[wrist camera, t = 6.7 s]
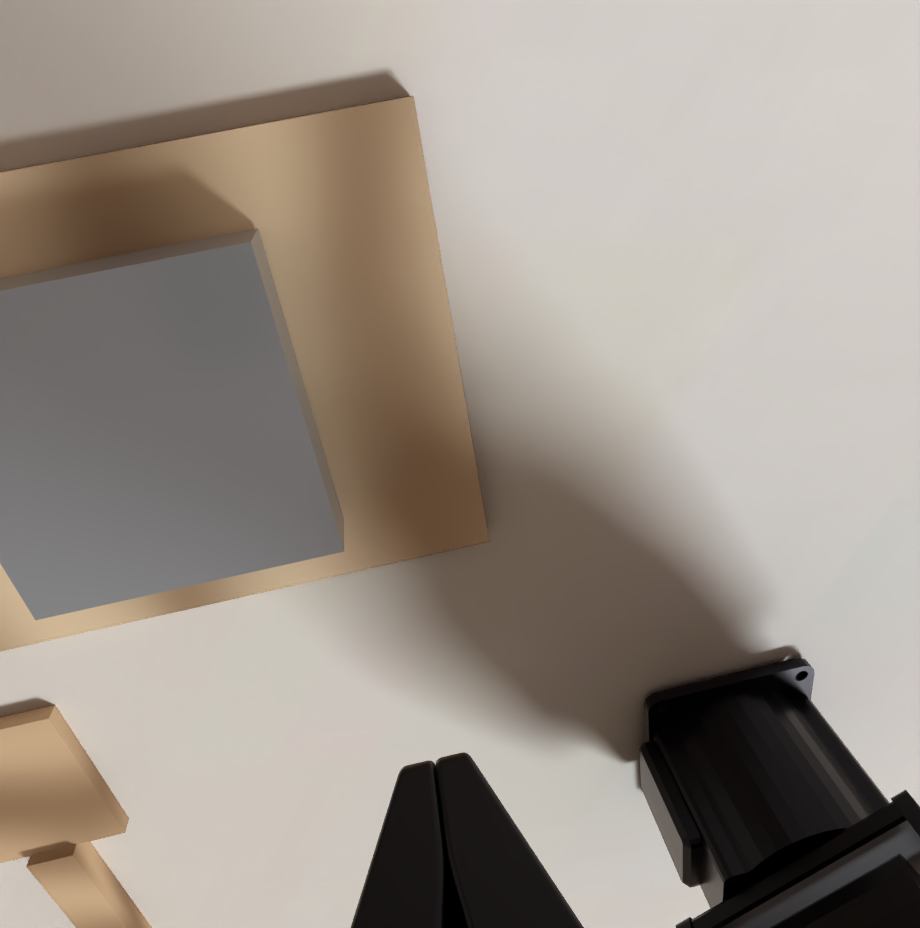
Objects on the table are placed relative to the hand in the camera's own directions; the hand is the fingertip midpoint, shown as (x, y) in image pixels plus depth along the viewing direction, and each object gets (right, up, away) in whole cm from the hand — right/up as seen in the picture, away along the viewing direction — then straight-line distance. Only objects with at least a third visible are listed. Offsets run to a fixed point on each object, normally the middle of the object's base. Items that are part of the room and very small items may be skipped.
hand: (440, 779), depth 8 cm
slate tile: (-3, +5, +8) cm, 11 cm away
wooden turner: (-14, -10, +17) cm, 24 cm away
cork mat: (-8, +5, +10) cm, 13 cm away
